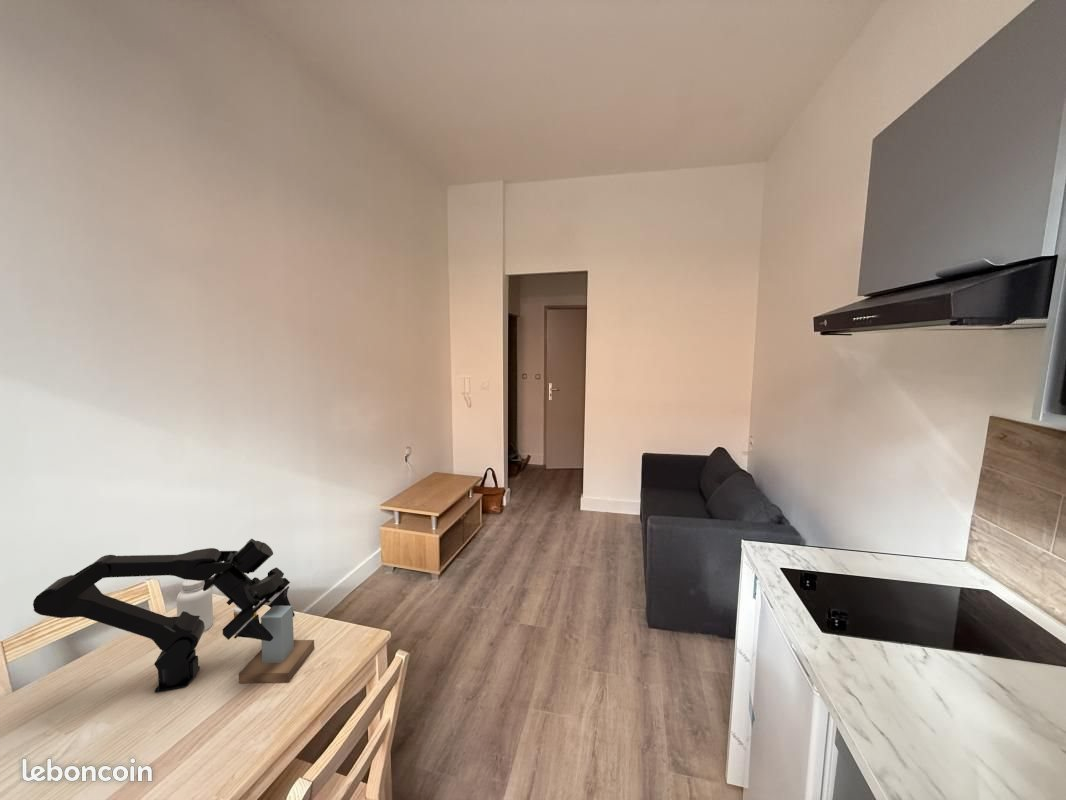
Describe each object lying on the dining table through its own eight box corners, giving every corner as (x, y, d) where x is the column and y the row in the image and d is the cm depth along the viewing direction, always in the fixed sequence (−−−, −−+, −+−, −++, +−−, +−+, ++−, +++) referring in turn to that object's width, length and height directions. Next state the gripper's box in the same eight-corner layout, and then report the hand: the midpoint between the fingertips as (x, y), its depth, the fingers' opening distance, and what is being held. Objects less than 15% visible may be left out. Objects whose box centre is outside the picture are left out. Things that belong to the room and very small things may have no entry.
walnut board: (238, 683, 96) (238, 673, 96) (270, 649, 108) (269, 640, 108) (288, 682, 96) (288, 672, 96) (314, 648, 108) (314, 639, 108)
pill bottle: (183, 641, 110) (181, 590, 109) (173, 631, 114) (171, 582, 113) (218, 626, 117) (216, 578, 116) (207, 617, 121) (205, 570, 120)
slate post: (262, 662, 99) (260, 617, 98) (274, 649, 104) (273, 605, 103) (282, 662, 99) (281, 617, 99) (293, 648, 104) (292, 605, 104)
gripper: (233, 584, 91) (283, 629, 92) (282, 549, 109) (323, 586, 110) (200, 617, 91) (250, 662, 92) (254, 576, 110) (295, 613, 111)
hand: (283, 627), depth 101 cm, fingers open, 9 cm apart
